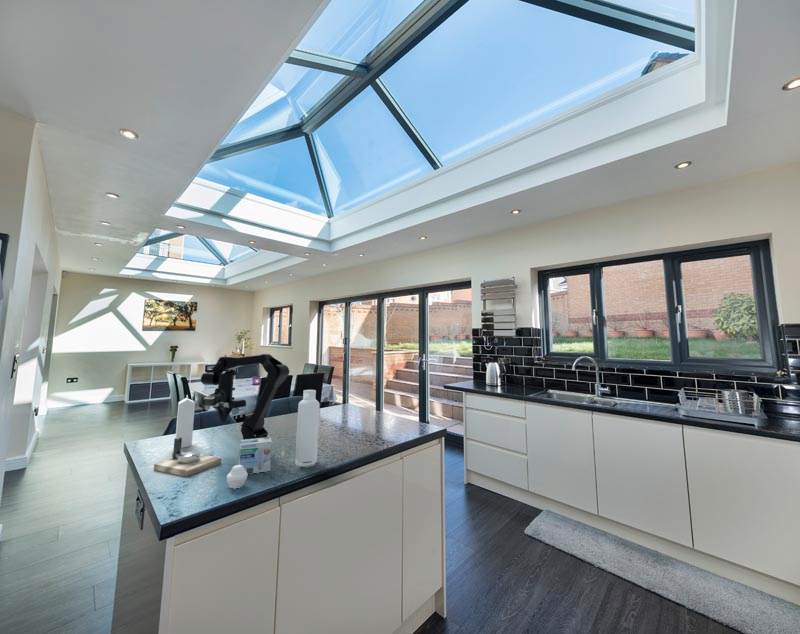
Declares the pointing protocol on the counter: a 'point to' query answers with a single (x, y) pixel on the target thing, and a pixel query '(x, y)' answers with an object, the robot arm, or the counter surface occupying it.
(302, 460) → the bottle
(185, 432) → the milk
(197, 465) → the dial base plate
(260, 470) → the light bulb box
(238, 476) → the muffin
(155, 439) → the counter surface
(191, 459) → the capstan dial
